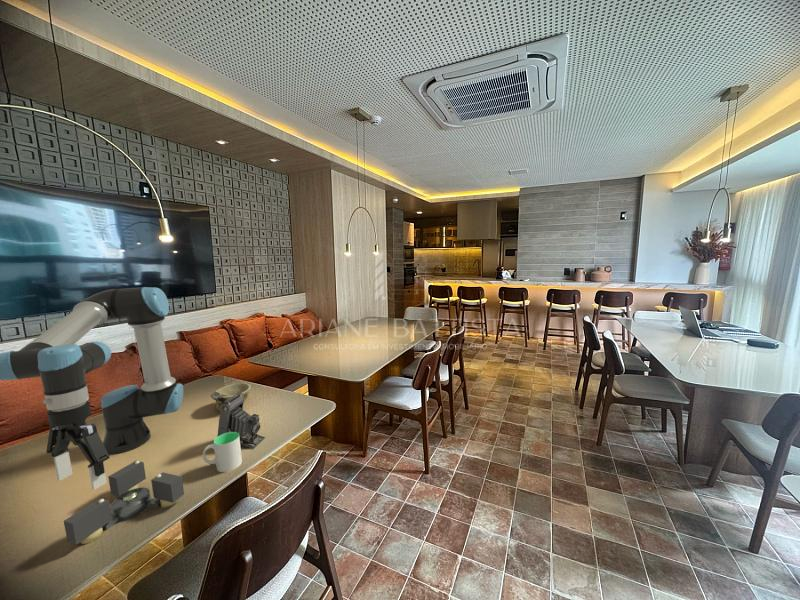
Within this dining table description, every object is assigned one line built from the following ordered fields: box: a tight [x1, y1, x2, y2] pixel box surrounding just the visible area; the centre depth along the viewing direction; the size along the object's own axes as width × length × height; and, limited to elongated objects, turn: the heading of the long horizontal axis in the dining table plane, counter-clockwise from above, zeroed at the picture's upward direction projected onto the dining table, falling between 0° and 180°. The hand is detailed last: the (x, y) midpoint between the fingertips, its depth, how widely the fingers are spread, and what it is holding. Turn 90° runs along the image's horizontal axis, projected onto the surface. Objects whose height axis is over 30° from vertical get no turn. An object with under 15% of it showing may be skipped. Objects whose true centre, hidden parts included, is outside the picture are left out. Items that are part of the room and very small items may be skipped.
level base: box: [102, 487, 161, 531], centre depth 93 cm, size 14×12×5 cm
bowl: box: [210, 382, 252, 412], centre depth 160 cm, size 18×18×10 cm
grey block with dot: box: [107, 460, 147, 497], centre depth 101 cm, size 4×8×9 cm, turn 164°
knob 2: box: [150, 471, 185, 508], centre depth 96 cm, size 4×8×9 cm, turn 74°
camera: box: [216, 392, 266, 449], centre depth 128 cm, size 11×17×20 cm, turn 79°
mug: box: [202, 432, 243, 473], centre depth 113 cm, size 12×8×10 cm, turn 113°
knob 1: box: [63, 498, 112, 546], centre depth 85 cm, size 4×8×9 cm, turn 163°
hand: (82, 481), depth 83 cm, fingers open, 13 cm apart
